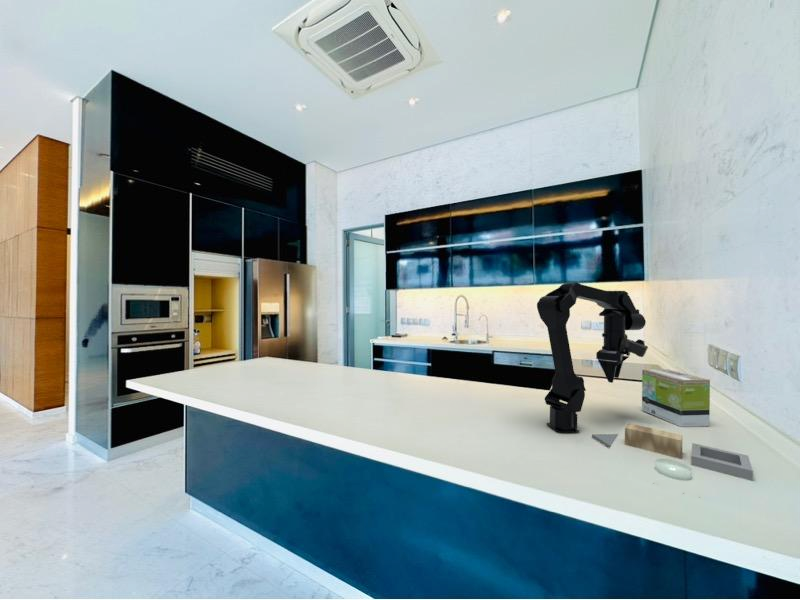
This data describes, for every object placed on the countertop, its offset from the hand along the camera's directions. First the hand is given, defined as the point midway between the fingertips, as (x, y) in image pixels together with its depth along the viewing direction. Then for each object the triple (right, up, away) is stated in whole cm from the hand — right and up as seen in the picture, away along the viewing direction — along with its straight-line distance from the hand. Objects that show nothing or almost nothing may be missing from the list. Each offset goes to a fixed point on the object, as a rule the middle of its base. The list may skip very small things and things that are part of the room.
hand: (613, 379), depth 104 cm
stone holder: (+5, -13, -30) cm, 33 cm away
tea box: (+22, -14, +3) cm, 26 cm away
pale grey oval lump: (-9, -13, -34) cm, 37 cm away
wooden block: (-8, -10, -18) cm, 22 cm away
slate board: (-7, -13, -19) cm, 24 cm away
